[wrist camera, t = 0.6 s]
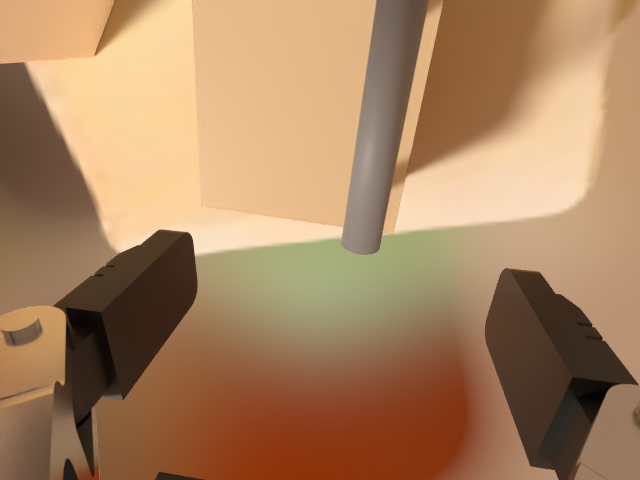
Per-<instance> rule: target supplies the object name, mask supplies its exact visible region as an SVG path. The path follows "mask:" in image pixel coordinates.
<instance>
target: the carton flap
mask: <svg viewBox="0 0 640 480" xmlns="http://www.w3.org/2000/svg"><path fill="white" fill-rule="evenodd" d="M443 1H444V0H192V11H193V33H194V55H195V77H196V99H197V121H198V143H199V165H200V187H201V206H202V207H209V208H216V209H223V210H230V211H237V212H243V213H250V214H257V215H264V216H271V217H278V218H284V219H291V220H298V221H305V222H312V223H319V224H325V225H332V226H339V227H343V234H342V242H341V244H342V246H343V247H344V248H345V249H347V250H349V251H351V252H354V253H357V254H373V253H376V252H377V251H378V250H379V248H380V243H381V238H382V233H387V234H394V229H395V224H396V220H397V215H398V211H399V206H400V201H401V197H402V192H403V187H404V183H405V178H406V173H407V169H408V164H409V159H410V155H411V150H412V145H413V141H414V136H415V131H416V127H417V122H418V117H419V113H420V108H421V104H422V99H423V94H424V90H425V85H426V80H427V76H428V71H429V66H430V62H431V57H432V52H433V48H434V43H435V38H436V34H437V29H438V24H439V20H440V15H441V10H442V6H443Z"/></svg>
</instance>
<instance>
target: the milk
mask: <svg viewBox="0 0 640 480" xmlns="http://www.w3.org/2000/svg"><path fill="white" fill-rule="evenodd" d="M114 2H115V0H0V63H14V62H29V61H44V60H59V59H75V58H90V57H94V54H95V52H96V49H97V47H98V44H99V41H100V39H101V36H102V33H103V31H104V28H105V25H106V23H107V20H108V17H109V15H110V12H111V9H112V7H113V4H114Z"/></svg>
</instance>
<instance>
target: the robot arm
mask: <svg viewBox="0 0 640 480" xmlns="http://www.w3.org/2000/svg"><path fill="white" fill-rule="evenodd" d="M196 294H197V273H196V264H195V254H194V245H193V239H192V236H191V235H190V233H188V232H180V231H171V230H158V231H157V232H155V233H154V234H153V235H152V236H151V237H149V238H148V239H147V240H146V241H145V242H143V243H142V244H141V245H137V246H135V247H133V248H131V249H128V250H126V251H124V252H122V253H119V254H118V255H117V256H116V257H115V258H113V259H112V260H111V261H109V262H108V263H107V264H106V266H105V267H102V268H100V269H99V270H98V271H97V272H95V273H94V276H90V277H89V278H88V279H87V280H85V281H84V282H83V283H81V284H80V285H79V286H78V287H76V288H75V289H74V290H73V291H72V292H70V293H69V294H68V295H66V296H65V297H64V298H63V299H61V300H60V301H59V302H57V303H56V304H55V305H54V306H32V307H27V308H22V309H18V310H15V311H12V312H9V313H7V314H5V315H2V316H0V480H100V475H99V459H98V443H97V428H96V415H95V411H94V408H93V406H94V405H95V404H96V403H97V401H98V400H99V399H100V398H101V397H105V398H111V399H118V400H124V398H125V397H126V396H127V394H128V393H129V391H130V390H131V389H132V387H133V386H134V384H135V383H136V382H137V380H138V379H139V378H140V376H141V375H142V374H143V372H144V371H145V369H146V368H147V367H148V365H149V364H150V362H151V361H152V360H153V358H154V357H155V355H156V354H157V353H158V352H159V350H160V349H161V347H162V346H163V345H164V343H165V342H166V341H167V339H168V338H169V336H170V335H171V334H172V332H173V331H174V330H175V328H176V327H177V325H178V324H179V323H180V321H181V320H182V318H183V317H184V316H185V314H186V313H187V312H188V310H189V309H190V307H191V306H192V304H193V303H194V300H195V297H196ZM485 338H486V344H487V347H488V349H489V352H490V355H491V358H492V361H493V363H494V366H495V369H496V372H497V375H498V377H499V380H500V383H501V386H502V388H503V391H504V394H505V397H506V400H507V402H508V405H509V408H510V411H511V414H512V416H513V419H514V422H515V424H516V427H517V430H518V433H519V436H520V438H521V441H522V444H523V446H524V449H525V452H526V455H527V458H528V460H529V463H530V466H532V467H538V468H545V469H551V470H555V472H556V474H557V476H558V479H559V480H640V386H639V384H638V383H637V382H636V381H635V379H634V378H633V377H632V375H631V374H630V373H629V371H628V370H627V369H626V368H625V366H624V365H623V364H622V362H621V361H620V360H619V358H618V357H617V356H616V355H615V353H614V352H613V351H612V349H611V348H610V347H609V345H608V344H607V343H606V342H605V341H602V336H601V335H600V334H599V332H598V331H597V330H596V328H594V327H592V323H591V322H590V321H589V319H588V318H587V317H586V315H585V314H584V313H583V312H582V310H581V309H580V308H579V307H577V306H576V305H574V304H573V303H572V302H570V301H569V300H568V299H566V298H565V297H564V296H562V295H560V294H555V293H554V291H553V290H552V288H551V287H550V286H549V284H548V283H547V281H546V280H545V279H544V277H543V276H542V275H541V273H539V272H536V271H527V270H517V269H508V268H506V269H504V270H503V271H502V272H501V274H500V277H499V280H498V283H497V287H496V290H495V293H494V296H493V300H492V303H491V306H490V310H489V313H488V316H487V320H486V325H485ZM155 480H203V479H197V478H192V477H185V476H180V475H174V474H168V473H163V472H159V473H158V475H157V477H156V479H155Z"/></svg>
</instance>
